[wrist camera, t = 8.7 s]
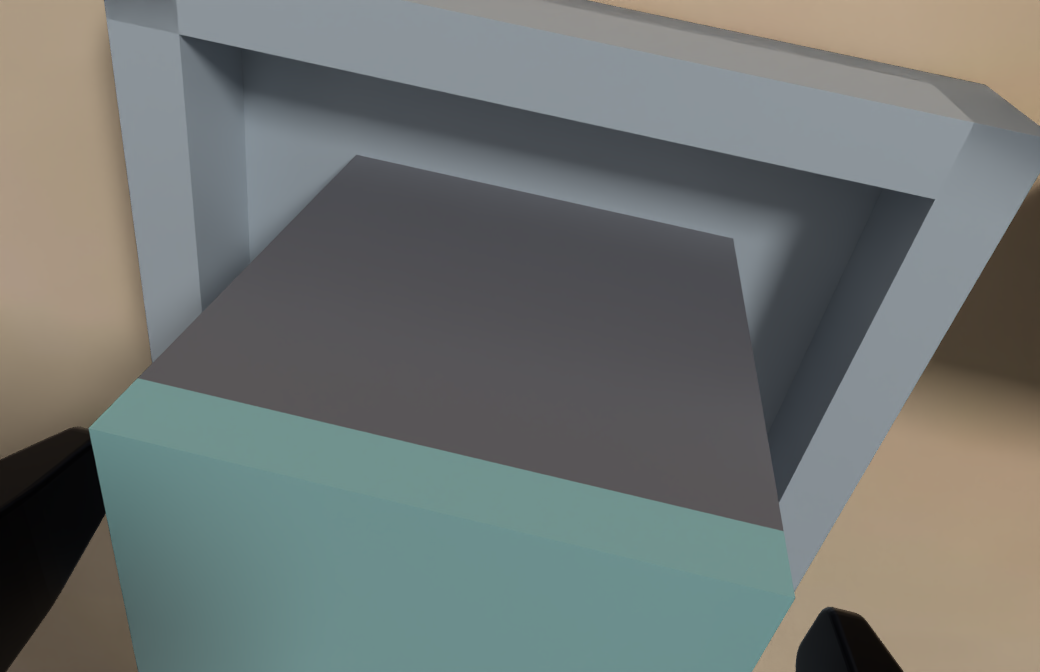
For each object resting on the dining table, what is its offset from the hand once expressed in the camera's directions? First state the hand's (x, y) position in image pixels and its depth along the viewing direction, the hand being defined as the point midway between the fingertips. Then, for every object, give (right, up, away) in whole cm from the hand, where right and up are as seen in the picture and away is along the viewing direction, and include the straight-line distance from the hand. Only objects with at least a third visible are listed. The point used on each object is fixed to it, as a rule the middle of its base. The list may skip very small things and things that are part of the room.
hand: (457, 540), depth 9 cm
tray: (+1, +2, +3) cm, 4 cm away
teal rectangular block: (0, +2, +2) cm, 3 cm away
